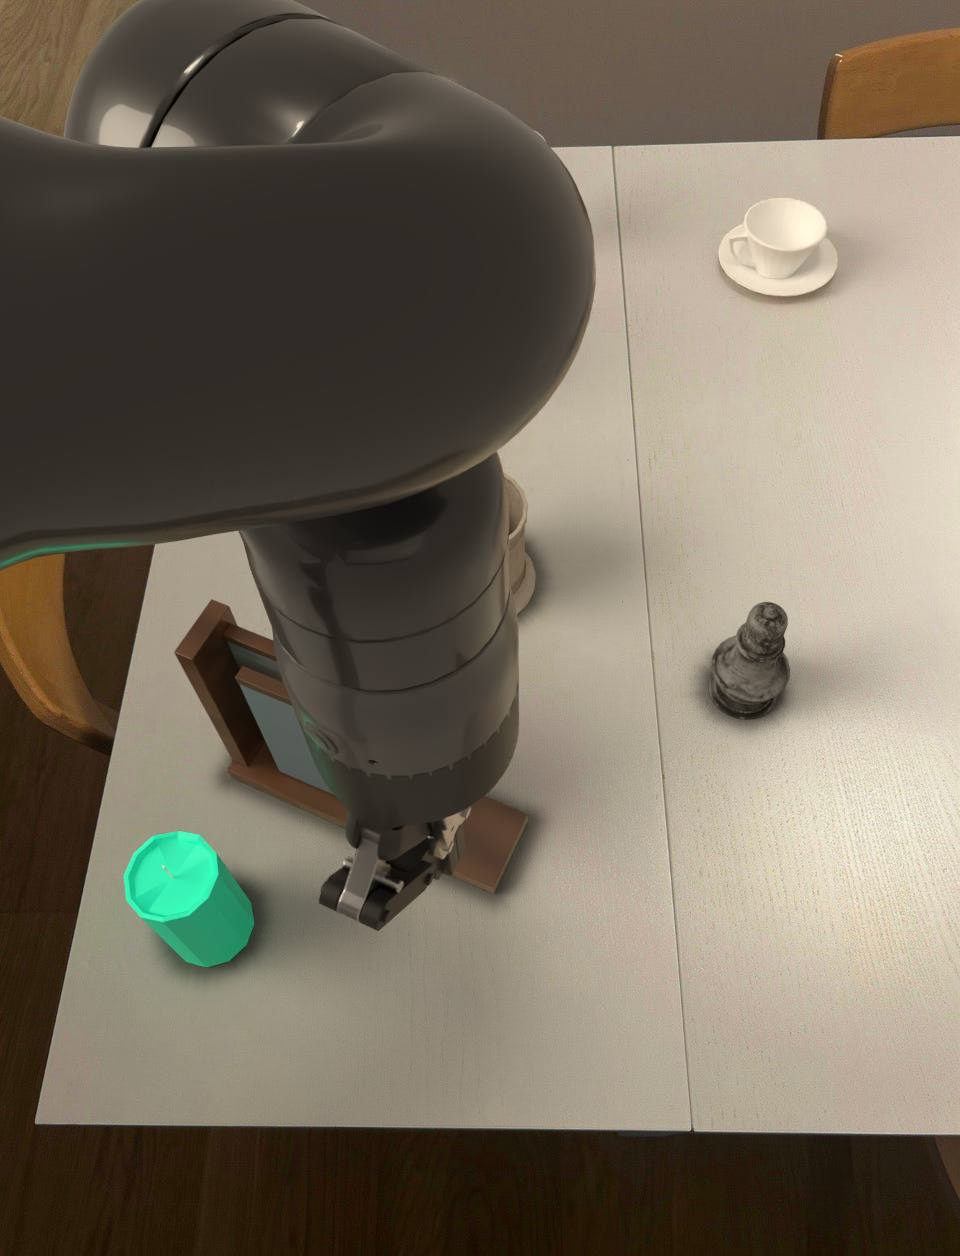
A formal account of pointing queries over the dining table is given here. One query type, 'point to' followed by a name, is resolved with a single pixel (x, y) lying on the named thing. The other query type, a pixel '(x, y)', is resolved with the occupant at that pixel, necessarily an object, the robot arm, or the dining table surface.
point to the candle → (189, 898)
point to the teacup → (780, 249)
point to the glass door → (279, 726)
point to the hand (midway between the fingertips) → (438, 853)
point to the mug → (519, 546)
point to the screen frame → (211, 671)
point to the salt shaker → (751, 664)
